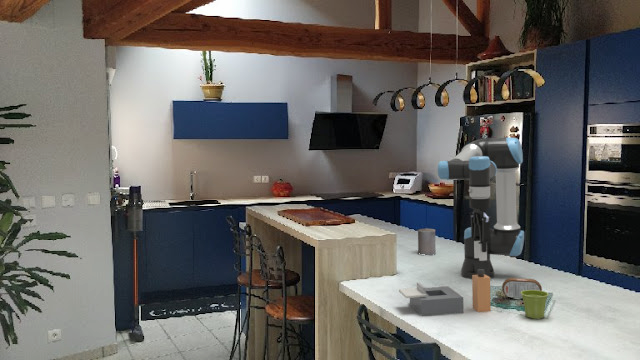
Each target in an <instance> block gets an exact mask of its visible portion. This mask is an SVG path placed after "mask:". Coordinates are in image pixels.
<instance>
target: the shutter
mask: <svg viewBox="0 0 640 360" xmlns="http://www.w3.org/2000/svg"><path fill="white" fill-rule="evenodd" d="M426 288H427V287H426V286H425V285H423V284H422V283H421V282H416V287H411V288H410V287H409V288H399V289H398V293H400V294H401V295H402V296H403V297H404V298H405V299H410V298H417V297H427V295H426Z"/></svg>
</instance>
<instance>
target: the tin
mask: <svg viewBox="0 0 640 360" xmlns="http://www.w3.org/2000/svg"><path fill="white" fill-rule="evenodd" d="M501 288H502V293H503V295H504V296H505V297H506V298H508V297H514V298H522V294H521V292H522V291H525V290H539V291H543V288H542V285H541V283H540V282H539V281H538V280H537V279H533V278H524V277H523V278H521V277H520V278H519V277H510V278H507V279H505V280H504V281H503V282H502V286H501Z"/></svg>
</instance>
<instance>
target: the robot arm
mask: <svg viewBox="0 0 640 360" xmlns="http://www.w3.org/2000/svg"><path fill="white" fill-rule="evenodd" d="M523 155H524V154H523V149H522V144H521V141H520V139H518V138H517V137H507V136H506V137H495V138H494V137H492V138H489V137H488V138H487V137H485V138H479V139H476V140H474V141H471V142H470V143H467V144H466V145H464V146H463V147H462V148H461V151H460V152H459V153H458V154H457V155H455V156H454V157H453V158H451V159H450V160H440V161H439V162H438V165H437V175H438V178H439V180H447V181H449V180H452V181H453V180H456V181H457V180H459V181H460V180H461V181H462V180H463V181H464V180H467V181H468V180H469V183H468V185H469V189H468V192H469V197H470V198H469V208H470V209H473V211H472V212H469V215H470V216H469V217H470V227H467V228H465V230H464V234H463V235H464V236H463V242H464V243H463V244H464V246H463V247H464V249H463V250H464V260H463V262H462V263H463V264H462V266H461V270H460V276H462V277H464V278H467V279H472V275H478V269H484V274H485V275H487V276H489V277H490V279H492V278H494V277H495V270H494V266H493V263H492V261H491V255H496V256H509V257H511V256H512V257H513V256H515V257H517V256H520V255H521V254H522V251H523V247H524V243H525V231H524V230H521V226H520V224H518V221H517V176H516V175H517V173H516V172H517V170H518V169H520V165H521V164H522V163H523V162H524V159H523V157H524V156H523ZM494 177H495V191H496V192H495V193H496V195H495V196H496V197H495V198H496V199H495V201H496V223H495V224H494V225H493V229H492V228H491V219H492V217H491V216H488V212H487V209H490V208H491V198H490V197H491V179H493V178H494Z"/></svg>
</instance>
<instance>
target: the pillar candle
mask: <svg viewBox="0 0 640 360" xmlns="http://www.w3.org/2000/svg"><path fill="white" fill-rule="evenodd" d="M417 249H418V250H417V251H418V252H417V254H418V253H420V254H425V255H430V256H434V255H436V229H434V228H428V227H426V228H420V229H417ZM433 254H434V255H433Z"/></svg>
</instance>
